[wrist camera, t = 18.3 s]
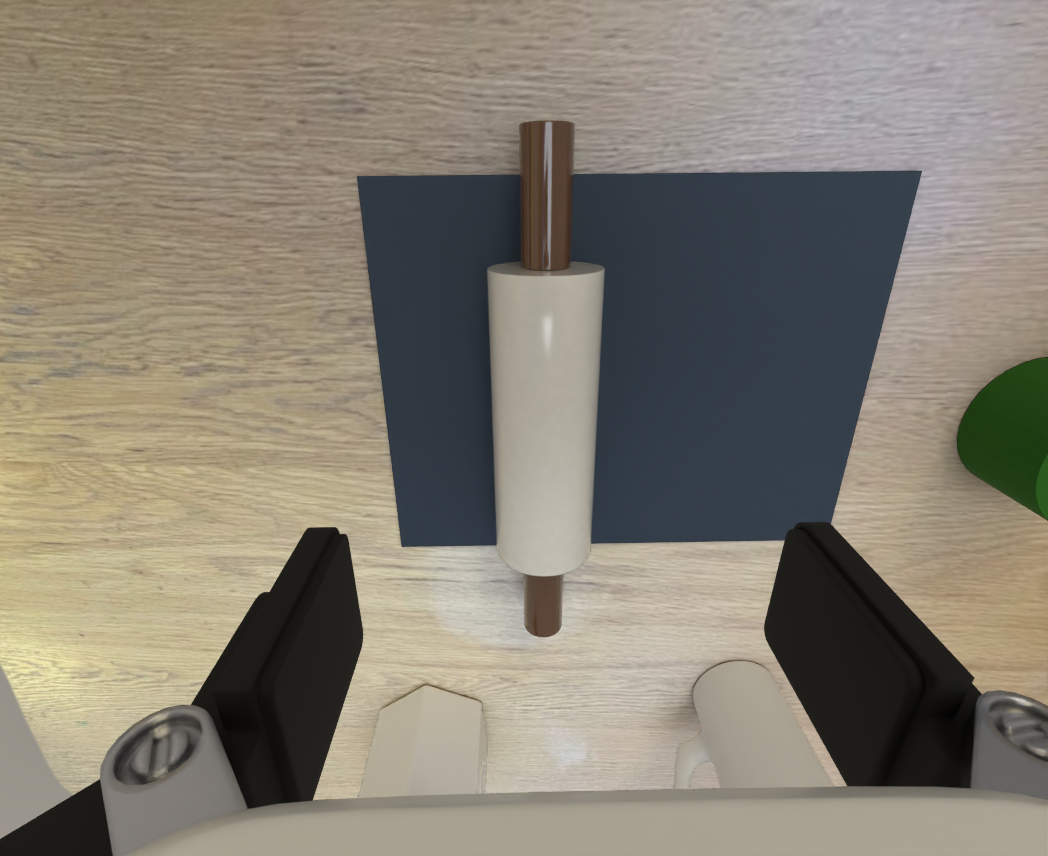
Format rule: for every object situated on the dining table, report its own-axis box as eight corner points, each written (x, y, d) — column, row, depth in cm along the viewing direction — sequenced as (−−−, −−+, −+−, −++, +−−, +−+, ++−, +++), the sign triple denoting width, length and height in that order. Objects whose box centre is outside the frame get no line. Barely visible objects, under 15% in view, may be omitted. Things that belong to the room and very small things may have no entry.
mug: (761, 644, 40) (856, 818, 29) (788, 701, 42) (885, 882, 31) (635, 692, 41) (678, 874, 30) (668, 744, 44) (719, 930, 33)
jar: (494, 758, 44) (487, 946, 33) (394, 766, 44) (355, 956, 33) (480, 678, 41) (468, 860, 30) (372, 687, 41) (320, 871, 30)
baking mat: (402, 545, 36) (401, 547, 35) (358, 176, 27) (356, 176, 27) (825, 537, 36) (826, 539, 36) (919, 170, 27) (922, 171, 27)
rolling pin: (538, 582, 38) (604, 620, 35) (480, 626, 34) (548, 674, 31) (539, 132, 27) (637, 123, 24) (454, 123, 23) (556, 111, 20)
